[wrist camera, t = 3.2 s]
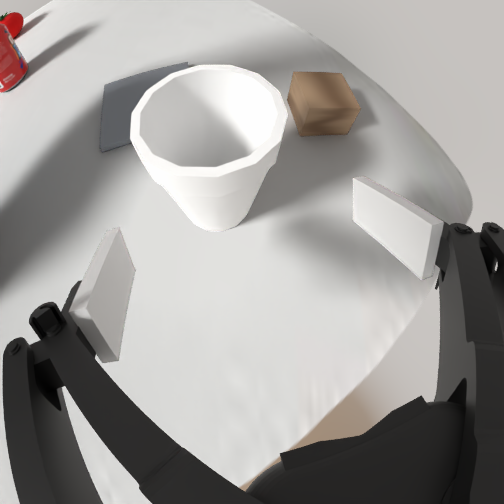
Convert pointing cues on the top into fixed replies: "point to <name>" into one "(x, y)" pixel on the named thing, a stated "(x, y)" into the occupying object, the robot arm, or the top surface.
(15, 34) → the tomato
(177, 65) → the mat
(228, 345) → the top surface
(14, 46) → the soda can
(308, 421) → the top surface
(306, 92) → the walnut block
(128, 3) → the top surface
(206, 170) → the foam cup
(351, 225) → the top surface
